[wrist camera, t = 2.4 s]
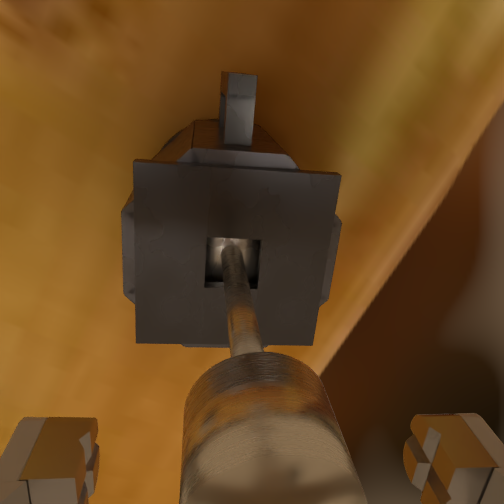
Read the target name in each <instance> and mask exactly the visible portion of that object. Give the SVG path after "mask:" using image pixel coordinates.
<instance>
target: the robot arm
mask: <svg viewBox="0 0 504 504" xmlns="http://www.w3.org/2000/svg"><path fill="white" fill-rule="evenodd" d="M410 428H411V429H412V431H413V433H414V434H413V435H412V436H411V437H410V438H409V439H408V440H407V441H406V443H405V448H404V451H403V454H404V465H405V468H406V472H407V474H408V476H409V479H410V480H411V483H412V484H414V485H415V486H416V487H417V488H419V489H420V490H421V491H422V495H421V499H420V501H421V502H422V504H504V445H503V443H502V442H501V441H500V440H499V439H498V437H497V436H496V435H495V434H494V432H493V431H492V430H491V429H490V427H489V426H488V425H487V424H486V422H485V421H484V420H483V419H482V418H481V417H480V416H479V415H477V414H476V413H468V414H467V413H465V414H421V415H416V416H415V417H414V418H413V420H412V423H411V426H410ZM97 434H98V423H97V419H96V418H87V417H49V418H46V417H24V418H23V419H22V420H21V421H20V422H19V423H18V425H17V427H16V429H15V431H14V433H13V435H12V437H11V439H10V441H9V442H8V444H7V446H6V448H5V450H4V452H3V454H2V456H1V458H0V504H89V503H88V498H89V497H90V496H91V495H92V494H93V493H94V491H95V487H96V482H97V477H98V470H99V457H100V453H99V446H98V445H97V444H96V443H95V441H96V437H97Z"/></svg>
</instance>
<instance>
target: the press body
mask: <svg viewBox="0 0 504 504" xmlns="http://www.w3.org/2000/svg"><path fill="white" fill-rule="evenodd" d="M256 86H257V75H250V74H244V73H235V72H224V71H222V72H221V89H220V107H219V119H211V120H205V121H203V120H194V121H193V122H192V123H191V124H190V125H189V126H188V127H186V128H184V129H183V130H181V131H179V132H178V133H177V134H175V135H174V136H173V137H172V138H170V140H169V141H168V142H167V143H166V144H165V145H164V146H163V148H162V149H161V150H160V152H159V153H158V154H157V155H156V156H155V157H154V158H153V159H152V160H146V159H135V160H134V161H133V184H134V189H133V191H132V193H131V195H130V197H129V198H128V200H127V202H126V204H125V206H124V208H123V209H122V211H121V218H122V255H123V292H124V295H125V296H126V297H127V298H128V299H129V300H131V301H132V302H133V303H134V304H135V315H136V343H150V344H181V345H183V346H185V347H218V348H230V343H229V333H228V323H227V314H226V304H225V294H224V284H223V282H205V263H206V244H207V237H211V238H233V239H255V240H260V249H259V259H258V269H257V278H256V283H249V286H250V291H251V295H252V300H253V304H254V309H255V314H256V318H257V323H258V327H259V332H260V337H261V341H262V346H263V348H264V347H265V348H266V347H267V346H268V345H305V346H313V340H314V334H315V328H316V322H317V316H318V310H319V307H320V306H321V305H322V304H324V303H325V302H326V301H328V300H327V299H328V298H329V293H330V287H331V282H332V276H333V270H334V265H335V259H336V254H337V248H338V242H339V237H340V231H341V225H342V223H341V220H340V219H339V218H338V217H337V215H336V214H335V210H336V204H337V199H338V193H339V187H340V181H341V175H340V174H339V173H337V172H323V171H308V170H300V169H299V168H298V166H297V165H296V164H295V163H294V161H293V160H292V159H291V158H290V156H289V155H288V154H287V153H286V152H285V151H284V150H283V149H282V148H281V147H280V146H279V145H278V144H277V143H276V142H275V141H274V140H273V139H272V138H271V137H270V136H269V135H268V134H267V133H266V132H265V131H264V130H263V129H262V128H261V127H260V126H259V125H253V120H254V109H255V98H256Z"/></svg>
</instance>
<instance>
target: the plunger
mask: <svg viewBox="0 0 504 504" xmlns="http://www.w3.org/2000/svg"><path fill="white" fill-rule="evenodd" d="M259 249H260V240H255V239H233V238H211V237H207V244H206V263H205V282H223V284H224V294H225V304H226V314H227V323H228V333H229V343H230V353H231V358H229V359H226V360H224V361H222V362H220V363H218V364H216V365H215V366H213V367H212V368H210V369H209V370H207V371H206V372H205V373H204V374H203V375H202V376H201V377H200V378H199V379H198V380H197V381H196V382H195V384H194V385H193V387H192V388H191V390H190V392H189V394H188V396H187V399H186V402H185V408H184V421H183V440H182V460H181V480H180V499H179V504H367V499H366V496H365V494H364V491H363V489H362V486H361V483H360V480H359V478H358V475H357V473H356V470H355V467H354V465H353V462H352V459H351V457H350V454H349V452H348V449H347V447H346V444H345V442H344V438H343V436H342V433H341V431H340V428H339V425H338V423H337V420H336V418H335V415H334V412H333V410H332V408H331V404H330V402H329V399H328V397H327V394H326V391H325V389H324V386H323V384H322V382H321V380H320V379H319V377H318V376H317V374H316V373H315V372H314V371H313V370H312V369H311V368H310V367H308V366H307V365H306V364H304V363H303V362H301V361H299V360H297V359H295V358H293V357H290V356H287V355H284V354H279V353H273V352H264V350H263V346H262V341H261V337H260V332H259V327H258V323H257V318H256V314H255V309H254V304H253V300H252V295H251V291H250V286H249V283H256V278H257V269H258V259H259Z"/></svg>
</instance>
